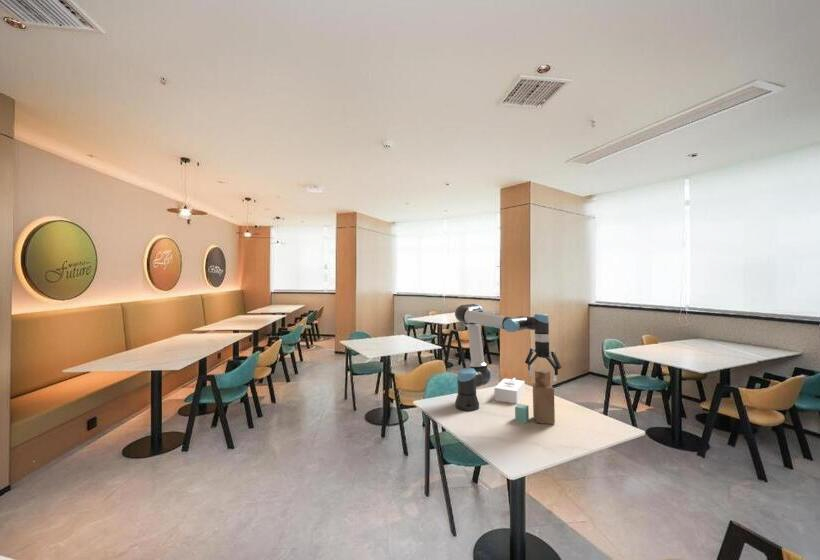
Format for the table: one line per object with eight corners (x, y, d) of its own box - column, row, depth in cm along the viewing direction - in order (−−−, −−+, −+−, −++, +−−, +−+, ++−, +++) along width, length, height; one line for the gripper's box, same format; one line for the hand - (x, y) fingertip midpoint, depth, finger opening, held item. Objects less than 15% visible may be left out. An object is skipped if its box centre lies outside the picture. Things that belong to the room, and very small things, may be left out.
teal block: (515, 421, 187) (515, 406, 188) (518, 417, 193) (517, 403, 193) (526, 423, 184) (525, 408, 184) (528, 419, 189) (528, 405, 189)
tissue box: (494, 400, 221) (494, 384, 221) (504, 390, 243) (504, 375, 243) (516, 404, 214) (516, 387, 214) (524, 393, 235) (524, 377, 236)
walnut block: (535, 385, 188) (534, 371, 188) (540, 382, 192) (539, 369, 192) (545, 387, 183) (545, 373, 184) (550, 385, 188) (550, 370, 188)
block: (555, 424, 181) (554, 388, 182) (536, 423, 183) (535, 387, 184) (551, 417, 191) (550, 383, 191) (533, 416, 193) (532, 382, 193)
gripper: (518, 339, 195) (519, 375, 194) (561, 344, 176) (562, 384, 176) (524, 337, 200) (525, 373, 199) (567, 342, 181) (568, 381, 181)
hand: (542, 378), depth 188 cm, fingers open, 13 cm apart
